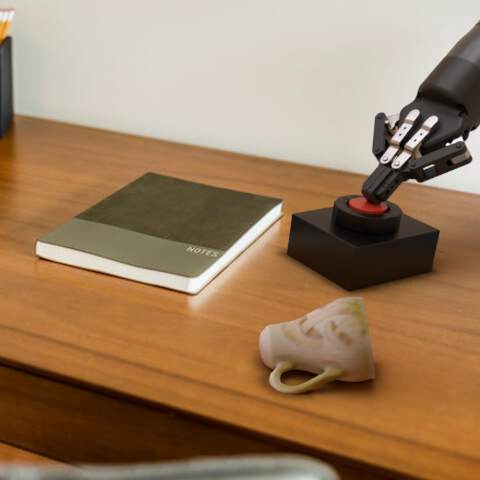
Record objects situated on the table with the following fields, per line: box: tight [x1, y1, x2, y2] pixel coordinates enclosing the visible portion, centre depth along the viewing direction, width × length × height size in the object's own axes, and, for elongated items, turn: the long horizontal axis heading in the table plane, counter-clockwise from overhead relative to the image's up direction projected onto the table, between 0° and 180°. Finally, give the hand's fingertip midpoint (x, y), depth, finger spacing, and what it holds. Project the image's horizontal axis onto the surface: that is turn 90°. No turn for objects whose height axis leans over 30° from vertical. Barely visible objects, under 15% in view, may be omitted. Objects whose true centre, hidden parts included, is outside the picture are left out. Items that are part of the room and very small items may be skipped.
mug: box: [258, 296, 376, 395], centre depth 76 cm, size 8×10×10 cm
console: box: [286, 194, 441, 293], centre depth 97 cm, size 12×10×7 cm
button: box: [348, 198, 388, 214], centre depth 96 cm, size 4×4×2 cm
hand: (369, 198), depth 96 cm, fingers closed
